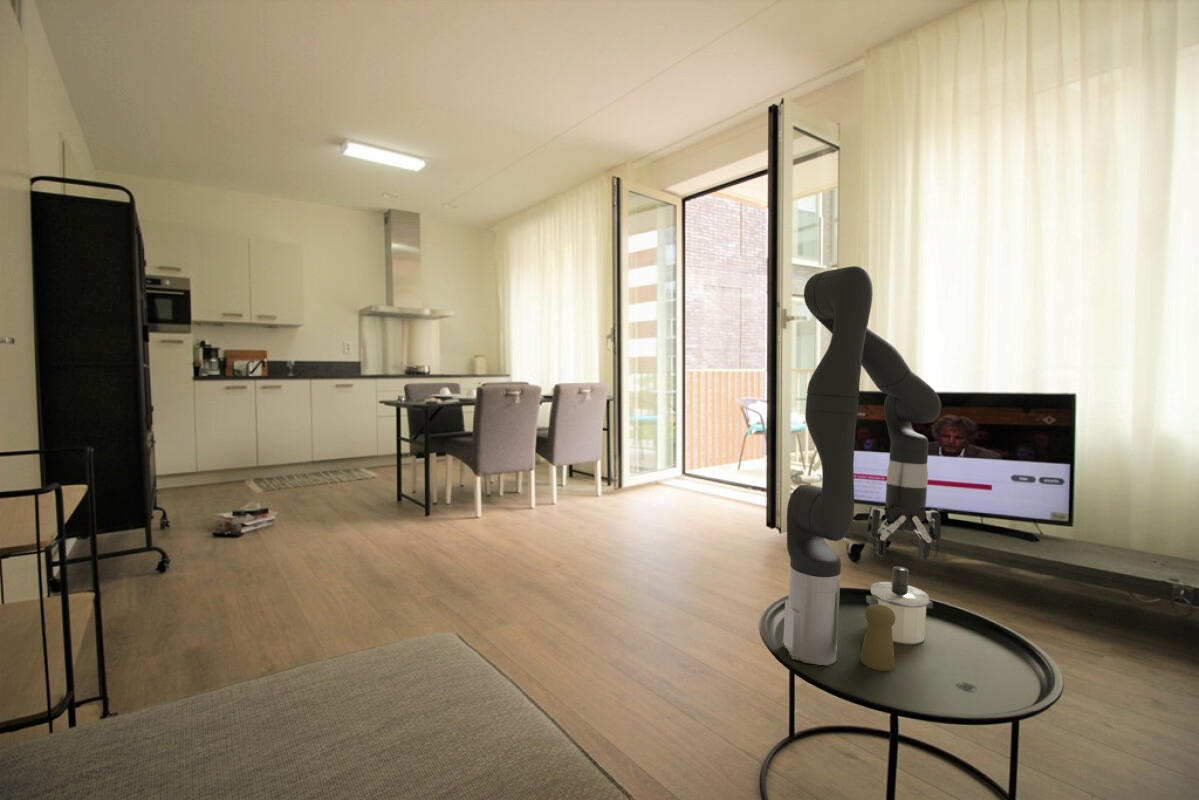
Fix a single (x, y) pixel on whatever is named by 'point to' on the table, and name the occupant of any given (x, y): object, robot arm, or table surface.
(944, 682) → the table surface
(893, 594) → the lid
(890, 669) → the cork
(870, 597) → the pot
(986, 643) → the table surface
